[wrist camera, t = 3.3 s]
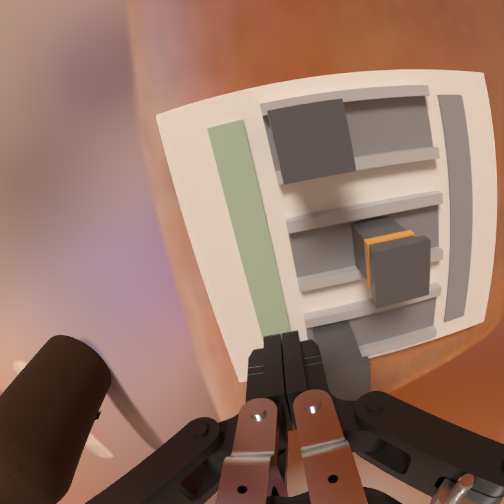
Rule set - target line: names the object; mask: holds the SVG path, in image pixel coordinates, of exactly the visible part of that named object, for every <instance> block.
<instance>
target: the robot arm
mask: <svg viewBox="0 0 504 504" xmlns="http://www.w3.org/2000/svg"><path fill="white" fill-rule="evenodd" d="M263 342H264V348H261V349H254V350H253V351H252V353H251V355H250V356H249V358H248V373H247V374H248V376H247V390H246V403H245V404H244V405H243V406H242V407H241V409H240V411H239V414H238V415H236V416H235V417H233V418H230V419H228V420H225V421H222V422H219V423H217V422H216V421H215V420H214V419H211V418H208V417H201V418H197V419H195V420H192V421H191V422H189V423H188V424H187V425H186V426H185V427H184V428H182V429H181V430H180V431H179V432H178V433H177V434H175V435H174V436H173V437H172V438H170V439H169V440H168V441H167V442H166V443H164V444H163V445H162V446H161V447H160V448H158V449H157V450H156V451H155V452H153V453H152V454H151V455H150V456H148V457H147V458H146V459H145V460H143V461H142V462H141V463H140V464H138V465H137V466H136V467H134V468H133V469H132V470H130V471H129V472H128V473H127V474H125V475H124V476H123V477H121V478H120V479H119V480H117V481H116V482H115V483H113V484H112V485H110V486H109V487H108V488H107V489H105V490H103V491H102V492H101V493H99V494H98V495H96V496H95V497H94V498H92V499H91V500H89V501H88V502H86V503H85V504H204V503H205V502H206V501H207V500H208V499H209V498H211V497H212V496H213V495H214V494H215V493H216V492H217V491H218V492H217V498H216V502H215V504H402V503H400V502H398V501H397V500H395V499H394V498H392V497H391V496H389V495H387V494H386V493H383V492H381V491H379V490H376V489H372V488H367V487H363V486H362V483H361V479H360V476H359V473H358V470H357V467H356V463H355V460H354V457H353V454H352V452H356V454H357V455H358V456H360V457H361V458H363V459H364V460H366V461H368V462H369V463H371V464H373V465H374V466H376V467H378V468H379V469H381V470H383V471H385V472H386V473H388V474H390V475H392V476H393V477H395V478H397V479H399V480H401V481H402V482H404V483H406V484H408V485H410V486H412V487H414V488H415V489H417V490H419V491H421V492H423V493H425V494H427V495H429V496H431V497H432V499H431V503H430V504H500V503H501V501H502V499H503V497H504V444H502V443H499V442H496V441H494V440H491V439H489V438H486V437H484V436H481V435H479V434H476V433H474V432H472V431H469V430H467V429H464V428H462V427H460V426H457V425H455V424H452V423H450V422H448V421H446V420H443V419H441V418H439V417H436V416H434V415H432V414H430V413H427V412H425V411H423V410H421V409H419V408H417V407H414V406H412V405H410V404H408V403H406V402H404V401H401V400H399V399H397V398H395V397H393V396H391V395H389V394H387V393H385V392H381V391H373V392H369V393H366V394H364V395H362V396H361V397H360V398H359V399H358V400H357V401H350V400H341V399H338V398H336V397H335V396H333V395H332V394H331V393H330V391H329V389H328V385H327V380H326V376H325V371H324V367H323V363H322V358H321V354H320V350H319V346H318V345H317V344H316V343H315V342H314V341H313V340H312V339H310V340H305V341H300V339H299V333H298V330H296V331H291V332H285V333H282V338H281V334H275V335H269V336H264V338H263ZM293 423H294V427H295V430H296V429H297V430H298V435H299V441H300V446H301V453H302V459H303V464H304V469H305V475H306V479H307V485H308V490H309V491H308V492H305V493H303V494H300V495H297V496H294V497H288V491H287V470H288V469H287V468H288V431H290V430H293Z"/></svg>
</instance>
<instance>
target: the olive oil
mask: <svg viewBox="0 0 504 504" xmlns="http://www.w3.org/2000/svg"><path fill="white" fill-rule="evenodd" d="M110 383H111V377H110V373H109V371H108V368H107V367H106V365H105V363H104V362H103V360H102V359H101V358H100V357H99V356H98V355H97V354H96V353H95V352H94V351H93V350H92V349H91V348H90V347H88V346H87V345H86V344H84V343H83V342H81V341H79V340H77V339H75V338H72V337H69V336H64V335H57V336H54V337H52V338H50V339H49V340H48V341H47V342H46V344H45V345H44V346H43V347H42V348H41V349H40V350H39V352H38V353H37V354H36V355H35V356H34V357H33V359H32V360H31V361H30V362H29V363H28V364H27V365H26V367H25V368H24V369H23V370H22V371H21V372H20V373H19V375H18V376H17V377H16V378H15V379H14V380H13V382H12V383H11V384H10V385H9V386H8V387H7V389H6V390H5V391H4V392H3V393H2V395H1V396H0V504H56V503H58V501H60V500H61V499H62V498H63V497H64V496H65V494H66V493H67V492H68V490H69V488H70V485H71V483H72V480H73V477H74V474H75V471H76V468H77V465H78V463H79V460H80V457H81V454H82V451H83V449H84V446H85V444H86V441H87V438H88V436H89V433H90V431H91V428H92V425H93V423H94V421H95V420H96V419H98V418H99V416H100V412H98V411H99V409H100V406H101V404H102V402H103V400H104V398H105V396H106V393H107V391H108V389H109V387H110Z"/></svg>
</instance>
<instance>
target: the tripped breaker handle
mask: <svg viewBox="0 0 504 504" xmlns="http://www.w3.org/2000/svg"><path fill="white" fill-rule="evenodd" d="M351 227H352V235H353V244H354V253H355V263H356V264H357V266H358V267H359V269H360V271H361V272H362V274H363V275H364V277H365V278H366V280H367V286H368V287H369V289H370V291H371V290H372V302H373V304H374V306H375V308H376V309H377V308H381V307H385V306H389V305H393V304H397V303H401V302H404V301H408V300H412V299H415V298H419V297H423V296H426V295H429V286H430V257H431V240H430V239H429V238H428V237H426V236H425V235H422V236H418V237H415V233H413V232H412V231H411V230H406V229H405V228H403V227H402V226H401V225H400V224H398V223H397V222H396V221H394V220H393V219H392V218H390V217H386V218H381V219H376V220H371V221H366V222H361V223H355V224H351Z"/></svg>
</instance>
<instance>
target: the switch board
mask: <svg viewBox="0 0 504 504" xmlns="http://www.w3.org/2000/svg"><path fill="white" fill-rule="evenodd" d="M156 119H157V123H158V127H159V131H160V135H161V139H162V143H163V147H164V150H165V154H166V158H167V162H168V165H169V169H170V172H171V176H172V180H173V183H174V187H175V190H176V194H177V197H178V201H179V204H180V208H181V211H182V214H183V218H184V221H185V224H186V228H187V231H188V234H189V237H190V241H191V244H192V247H193V250H194V253H195V257H196V260H197V263H198V266H199V269H200V272H201V275H202V278H203V281H204V284H205V287H206V290H207V293H208V296H209V299H210V302H211V305H212V308H213V311H214V314H215V317H216V319H217V322H218V325H219V328H220V331H221V334H222V336H223V339H224V342H225V345H226V347H227V350H228V353H229V356H230V358H231V361H232V364H233V366H234V369H235V372H236V374H237V377H238V380H239V382H246V381H247V376H248V374H247V373H248V358H249V356H250V355H251V353H252V351H253V350H254V349H261V348H264V342H263V338H264V336H269V335H275V334H281V338H282V333H285V332H291V331H296V330H298V333H299V339H300V341H305V340H310V339H312V340H313V341H314V342H315V343H316V344H317V345H318V346H319V350H320V354H321V358H322V363H323V367H324V371H325V376H326V380H327V385H328V389H329V391H330V393H331V394H332V395H333V396H335V397H336V398H338V399H341V400H350V401H353V400H357V399H359V398H360V397H361V396H362V395H364V394H366V393H369V392H370V361H369V358H373V357H377V356H380V355H384V354H388V353H392V352H395V351H399V350H402V349H406V348H409V347H412V346H416V345H419V344H422V343H425V342H428V341H431V340H434V339H437V338H440V337H443V336H446V335H449V334H452V333H455V332H458V331H460V330H463V329H466V328H468V327H471V326H474V325H476V324H479V323H481V322H484V318H485V313H486V308H487V302H488V297H489V291H490V284H491V277H492V270H493V261H494V252H495V240H496V223H497V171H496V154H495V142H494V133H493V124H492V117H491V110H490V104H489V98H488V93H487V88H486V83H485V78H484V74H483V73H479V72H468V71H453V70H380V71H364V72H352V73H342V74H333V75H324V76H317V77H310V78H303V79H296V80H290V81H285V82H279V83H274V84H269V85H264V86H259V87H254V88H249V89H245V90H241V91H236V92H232V93H228V94H224V95H220V96H216V97H213V98H209V99H205V100H202V101H198V102H195V103H192V104H188V105H185V106H182V107H178V108H175V109H172V110H169V111H166V112H163V113H160V114H157V115H156ZM386 217H390V218H392V219H393V220H394V221H396V222H397V223H398V224H400V225H401V226H402V227H403V228H405V229H406V230H411V231H412V232H413V233H415V237H418V236H422V235H425V236H426V237H428V238H429V239H430V240H431V257H430V286H429V295H426V296H423V297H419V298H415V299H412V300H408V301H404V302H401V303H397V304H393V305H389V306H385V307H381V308H377V309H376V308H375V306H374V304H373V302H372V290H371V291H370V289H369V287H368V286H367V280H366V278H365V277H364V275H363V274H362V272H361V271H360V269H359V267H358V266H357V264H356V263H355V253H354V244H353V235H352V227H351V224H355V223H361V222H366V221H371V220H376V219H381V218H386Z"/></svg>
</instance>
